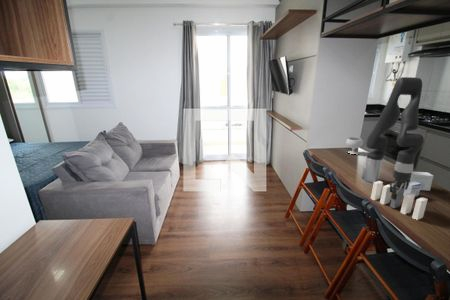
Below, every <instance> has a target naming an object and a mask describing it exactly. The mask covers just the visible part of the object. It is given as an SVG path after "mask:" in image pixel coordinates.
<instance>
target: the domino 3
mask: <svg viewBox="0 0 450 300" xmlns="http://www.w3.org/2000/svg"><path fill="white" fill-rule="evenodd" d="M396 191H397V189H396ZM403 191H404V189H403V188H401V189H400V190H399V191H398V193H397V198H396V200H394V199H392V198H391V199H390V203H389V204H390V205H389V207H391V208H392V209H396V208H400V206H401V205H402V204H401V203H402V201H403V200H402V199H403V197H404V196H403ZM402 196H403V197H402Z"/></svg>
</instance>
